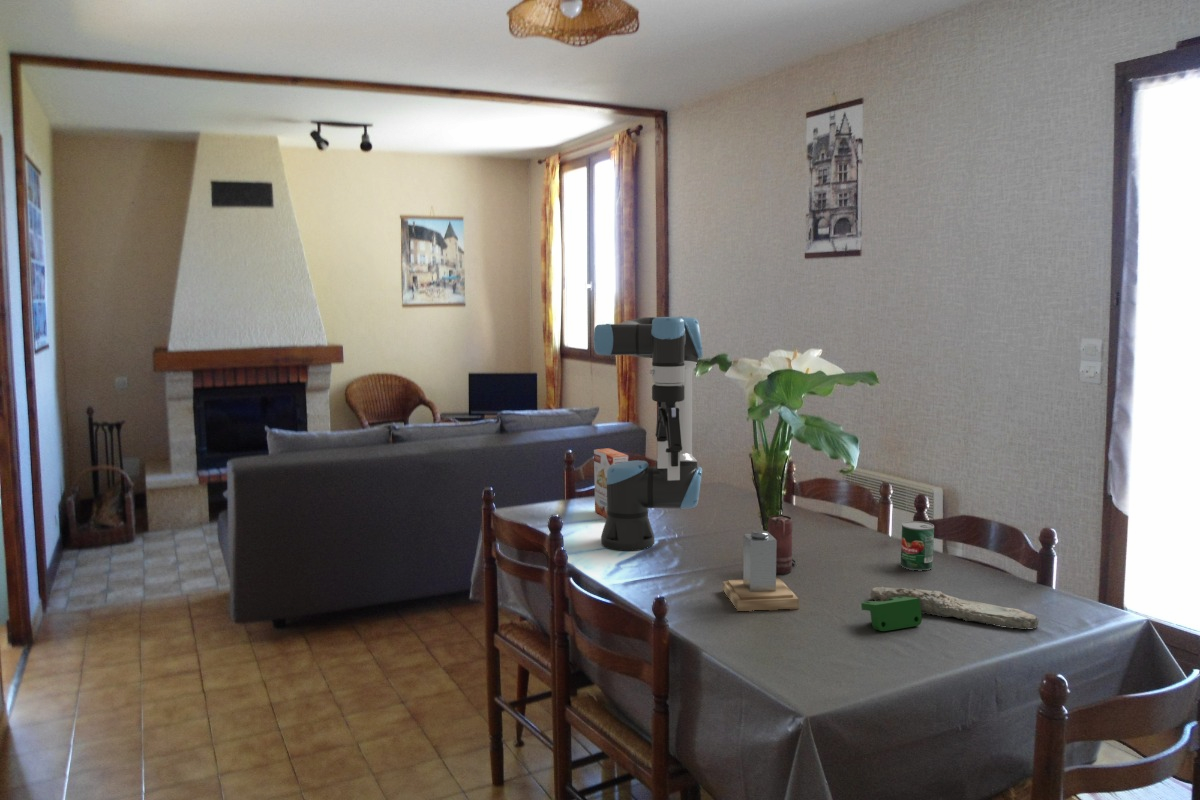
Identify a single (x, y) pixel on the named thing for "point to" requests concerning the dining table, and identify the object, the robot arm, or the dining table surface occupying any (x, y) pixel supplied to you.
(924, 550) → the canned tomato
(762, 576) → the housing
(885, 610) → the green plastic block
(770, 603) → the stand
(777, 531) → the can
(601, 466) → the cracker box
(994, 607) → the elongated rock
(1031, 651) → the dining table surface
